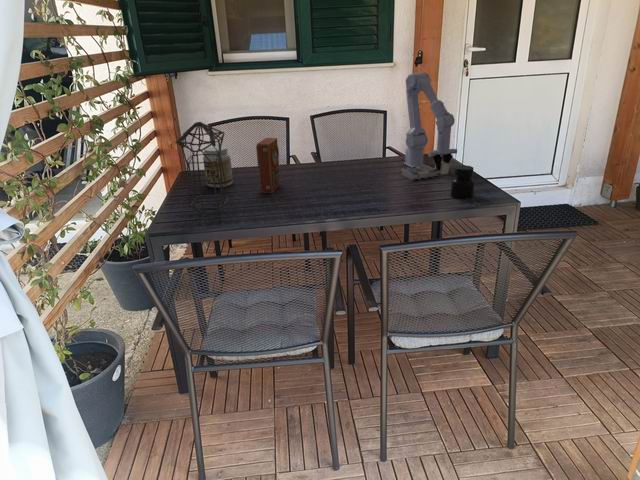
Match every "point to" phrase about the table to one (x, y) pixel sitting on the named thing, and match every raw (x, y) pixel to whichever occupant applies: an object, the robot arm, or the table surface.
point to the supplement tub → (226, 166)
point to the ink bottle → (463, 182)
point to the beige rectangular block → (443, 167)
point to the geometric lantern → (205, 127)
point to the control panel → (268, 164)
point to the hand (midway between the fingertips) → (441, 169)
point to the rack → (419, 172)
